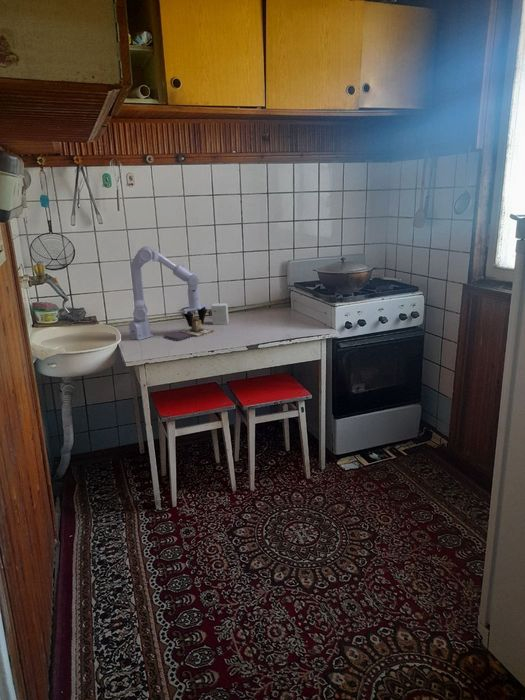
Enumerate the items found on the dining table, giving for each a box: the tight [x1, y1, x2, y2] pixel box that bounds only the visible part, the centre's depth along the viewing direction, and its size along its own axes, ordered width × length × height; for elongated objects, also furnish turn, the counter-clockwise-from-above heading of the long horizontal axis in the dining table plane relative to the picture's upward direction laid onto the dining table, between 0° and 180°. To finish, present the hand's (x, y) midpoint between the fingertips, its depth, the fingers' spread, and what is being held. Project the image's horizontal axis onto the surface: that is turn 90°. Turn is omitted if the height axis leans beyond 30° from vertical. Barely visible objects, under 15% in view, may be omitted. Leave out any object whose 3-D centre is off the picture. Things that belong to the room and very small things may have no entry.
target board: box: [179, 327, 215, 338], centre depth 250 cm, size 11×13×1 cm
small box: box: [210, 302, 230, 326], centre depth 264 cm, size 8×6×10 cm
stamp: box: [189, 316, 205, 333], centre depth 249 cm, size 5×5×7 cm
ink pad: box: [163, 331, 194, 342], centre depth 243 cm, size 9×11×1 cm
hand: (196, 324), depth 249 cm, fingers open, 7 cm apart
